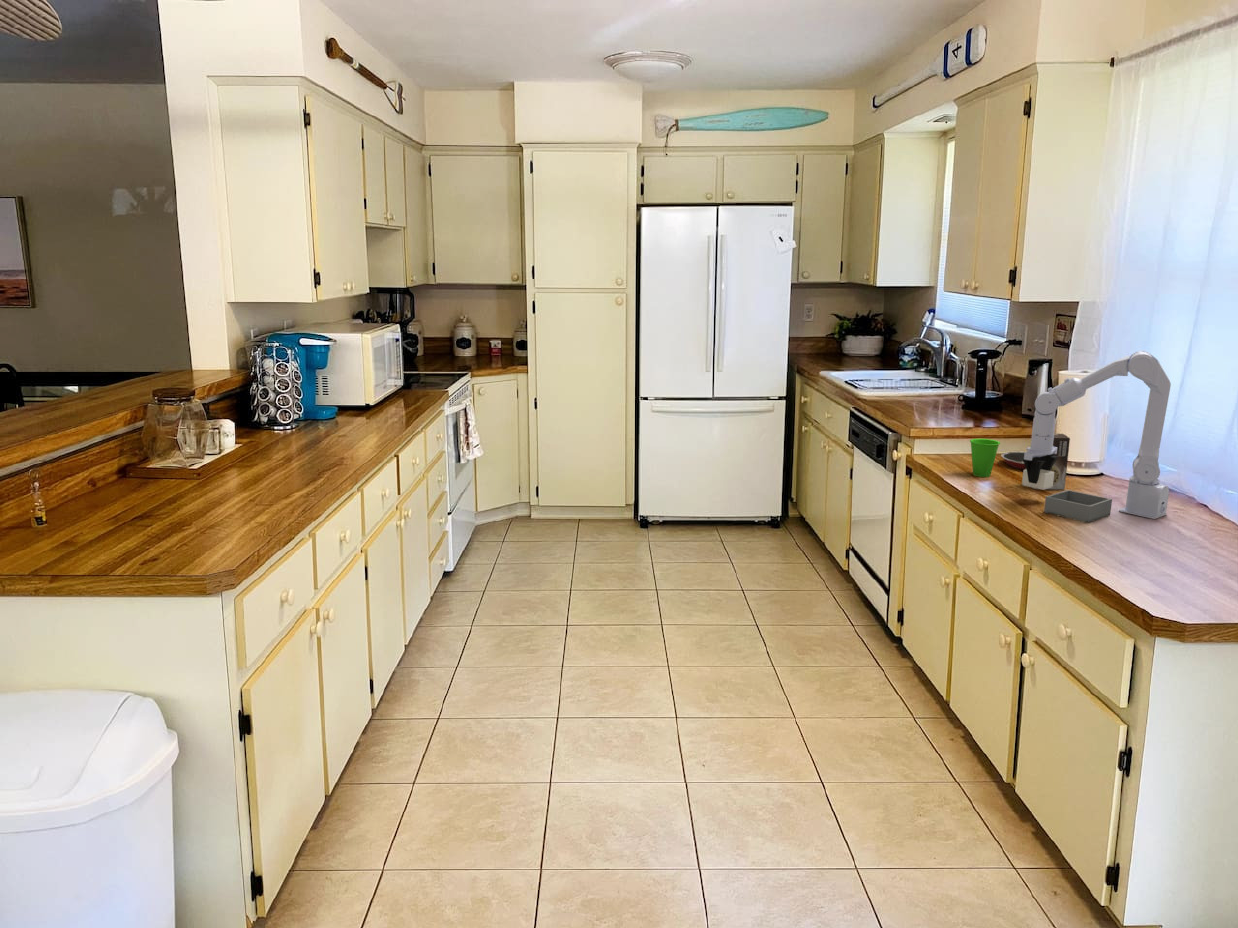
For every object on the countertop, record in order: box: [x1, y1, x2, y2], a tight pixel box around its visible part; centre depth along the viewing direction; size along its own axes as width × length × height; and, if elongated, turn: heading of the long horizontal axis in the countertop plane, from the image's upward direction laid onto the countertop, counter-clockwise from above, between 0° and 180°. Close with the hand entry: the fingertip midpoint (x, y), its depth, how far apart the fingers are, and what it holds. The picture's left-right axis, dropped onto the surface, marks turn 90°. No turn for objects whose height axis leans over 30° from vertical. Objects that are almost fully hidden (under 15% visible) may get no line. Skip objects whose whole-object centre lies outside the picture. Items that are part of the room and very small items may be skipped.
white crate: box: [1021, 469, 1054, 491], centre depth 266 cm, size 6×5×4 cm
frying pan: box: [1000, 451, 1027, 471], centre depth 302 cm, size 19×32×4 cm, turn 177°
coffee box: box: [1032, 433, 1071, 491], centre depth 281 cm, size 9×6×16 cm
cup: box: [969, 438, 1001, 478], centre depth 295 cm, size 9×9×11 cm
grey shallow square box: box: [1043, 489, 1113, 524], centre depth 254 cm, size 12×12×4 cm
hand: (1037, 481), depth 266 cm, fingers closed on white crate, 5 cm apart
